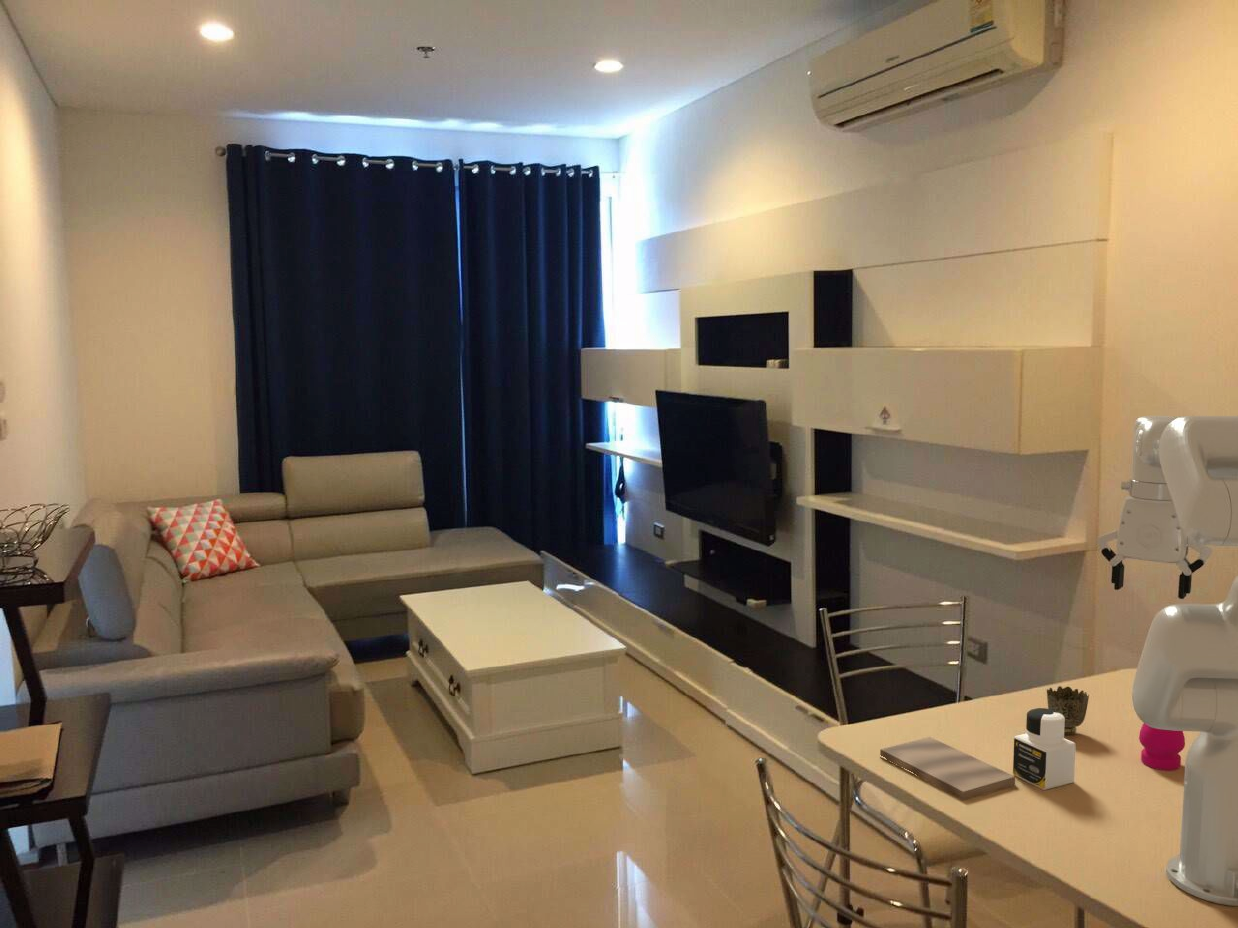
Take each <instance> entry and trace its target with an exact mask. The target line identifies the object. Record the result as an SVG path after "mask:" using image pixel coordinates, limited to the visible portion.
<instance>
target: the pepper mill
mask: <svg viewBox="0 0 1238 928" xmlns="http://www.w3.org/2000/svg"><path fill="white" fill-rule="evenodd" d="M1185 738H1186V737H1185V734H1184V731H1175V730H1163V729H1156V728H1153V727H1150V726H1148V725H1146V724H1145V723H1143V724H1142V725H1141V727H1140V730H1139V736H1138V740H1139V742H1140V744H1141V745H1142V747H1143V749H1142V750H1141V753H1140V755H1141V756H1140V760H1141V761H1140V762H1142V764H1144V765H1146V766H1147V767H1150V768H1153V769H1157V770H1162V771H1174V770H1175V771H1176V770H1178V769H1179V768H1181V764H1182V763H1181V762H1182V756H1181V755H1180V754H1179V753H1181V752H1182V751H1183V750H1184V748H1185V746H1186V739H1185Z"/></svg>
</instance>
